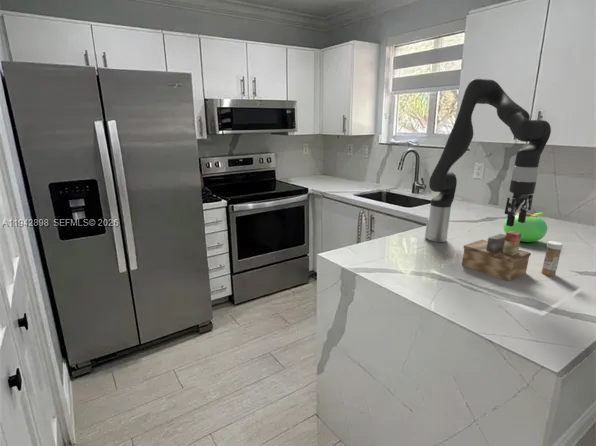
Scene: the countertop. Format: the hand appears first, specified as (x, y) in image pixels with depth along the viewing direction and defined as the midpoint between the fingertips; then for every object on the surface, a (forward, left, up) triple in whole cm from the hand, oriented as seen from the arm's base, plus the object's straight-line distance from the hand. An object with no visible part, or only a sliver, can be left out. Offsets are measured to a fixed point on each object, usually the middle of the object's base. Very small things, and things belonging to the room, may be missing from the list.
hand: (515, 224), depth 127 cm
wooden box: (-5, 0, -20) cm, 21 cm away
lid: (-5, 0, -12) cm, 13 cm away
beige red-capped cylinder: (0, 0, -19) cm, 19 cm away
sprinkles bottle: (+9, +13, -21) cm, 26 cm away
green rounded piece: (-17, +51, -21) cm, 58 cm away
